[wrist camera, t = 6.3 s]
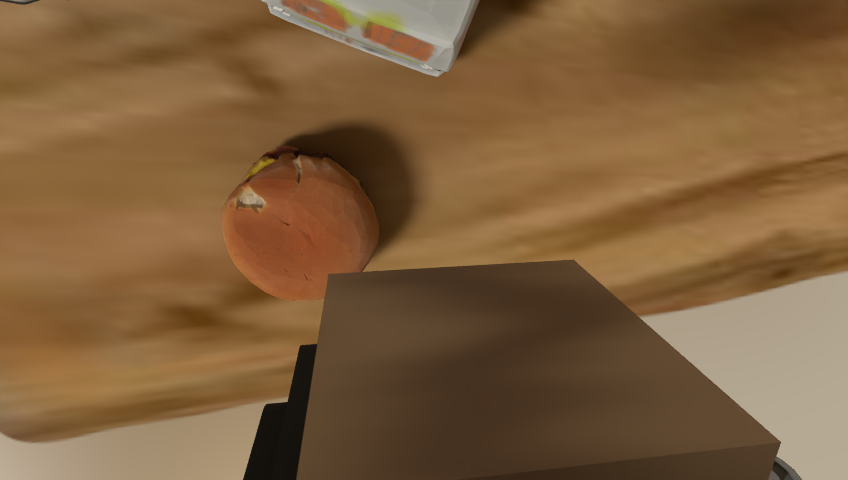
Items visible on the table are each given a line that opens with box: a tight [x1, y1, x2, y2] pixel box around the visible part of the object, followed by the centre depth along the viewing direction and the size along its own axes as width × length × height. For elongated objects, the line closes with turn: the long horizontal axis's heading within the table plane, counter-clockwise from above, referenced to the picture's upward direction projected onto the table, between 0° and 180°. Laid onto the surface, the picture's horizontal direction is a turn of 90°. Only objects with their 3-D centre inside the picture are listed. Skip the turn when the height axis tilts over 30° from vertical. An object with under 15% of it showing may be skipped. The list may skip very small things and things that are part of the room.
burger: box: [222, 146, 379, 301], centre depth 29 cm, size 10×9×5 cm
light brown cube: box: [296, 260, 781, 480], centre depth 9 cm, size 6×6×6 cm
